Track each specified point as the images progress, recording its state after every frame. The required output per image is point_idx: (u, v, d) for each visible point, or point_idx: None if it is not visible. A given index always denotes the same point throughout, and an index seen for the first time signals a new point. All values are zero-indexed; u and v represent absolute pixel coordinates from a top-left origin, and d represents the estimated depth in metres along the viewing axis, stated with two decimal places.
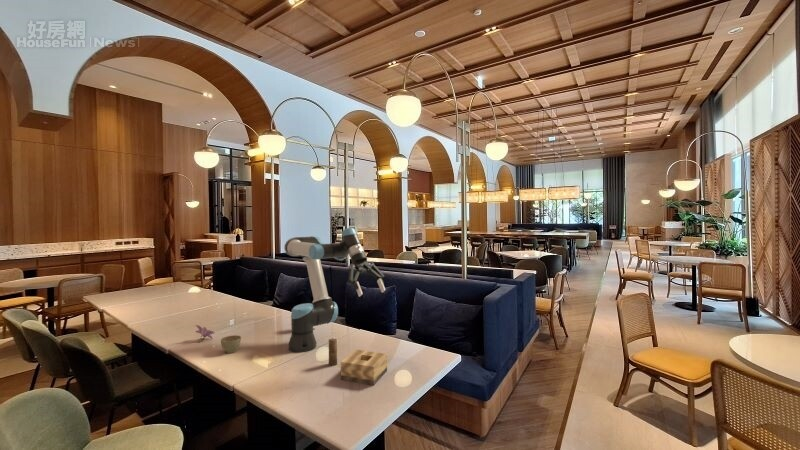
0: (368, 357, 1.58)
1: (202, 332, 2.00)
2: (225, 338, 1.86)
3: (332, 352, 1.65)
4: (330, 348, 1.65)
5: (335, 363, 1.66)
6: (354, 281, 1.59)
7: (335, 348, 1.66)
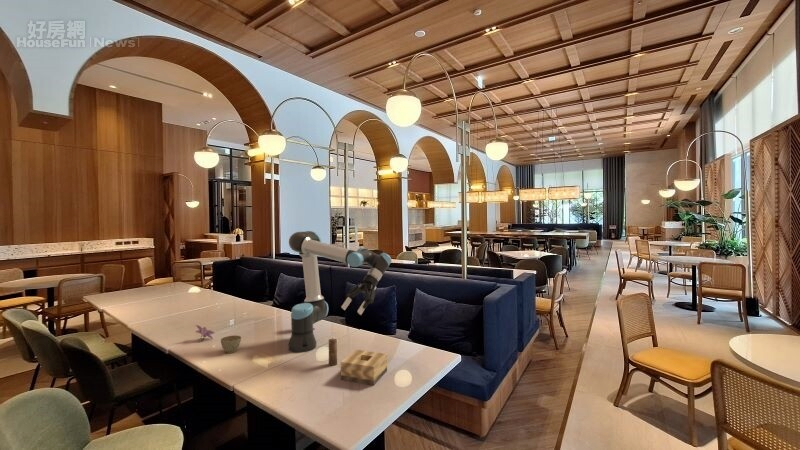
0: (368, 357, 1.58)
1: (202, 332, 2.00)
2: (225, 338, 1.86)
3: (332, 352, 1.65)
4: (330, 348, 1.65)
5: (335, 363, 1.66)
6: (369, 303, 1.73)
7: (335, 348, 1.66)
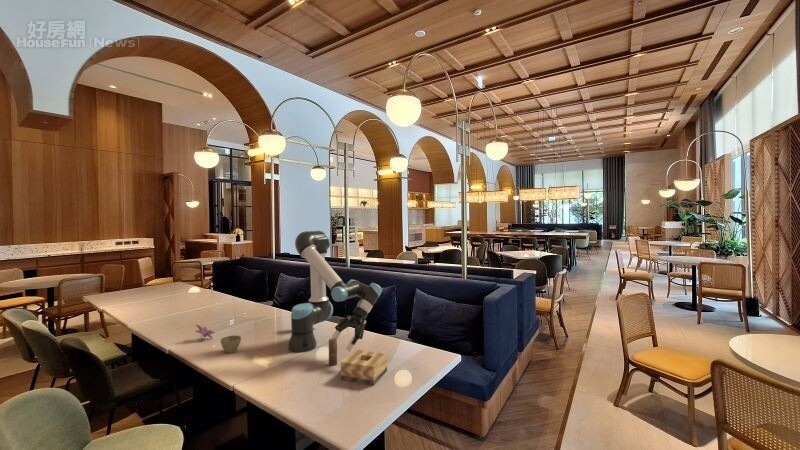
0: (368, 357, 1.58)
1: (202, 332, 2.01)
2: (225, 338, 1.86)
3: (332, 352, 1.65)
4: (330, 348, 1.65)
5: (335, 363, 1.66)
6: None
7: (335, 348, 1.66)
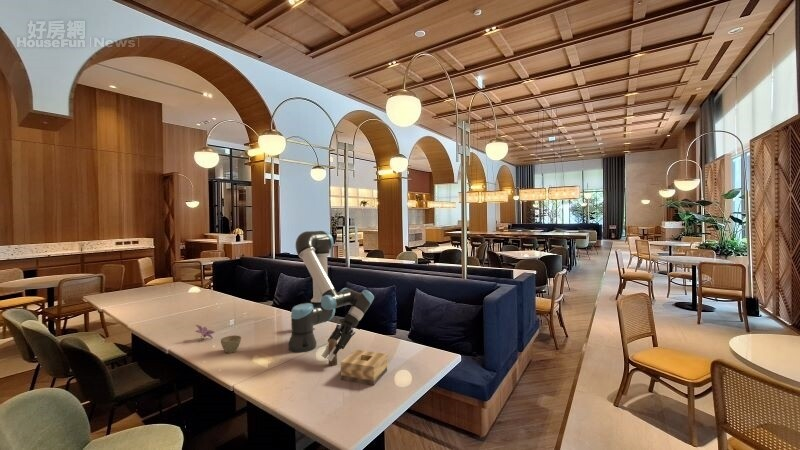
0: (368, 357, 1.58)
1: (202, 332, 2.01)
2: (225, 338, 1.86)
3: None
4: (330, 348, 1.65)
5: (335, 363, 1.66)
6: None
7: None
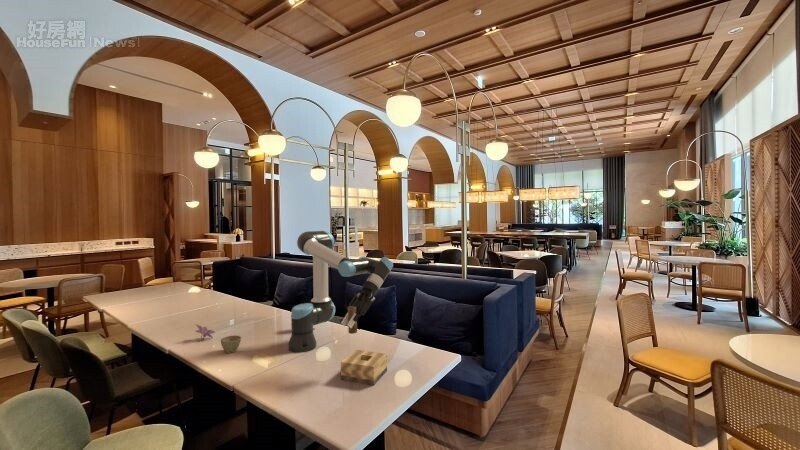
0: (368, 357, 1.58)
1: (202, 331, 2.01)
2: (225, 338, 1.86)
3: None
4: (350, 315, 1.58)
5: (355, 331, 1.58)
6: None
7: None
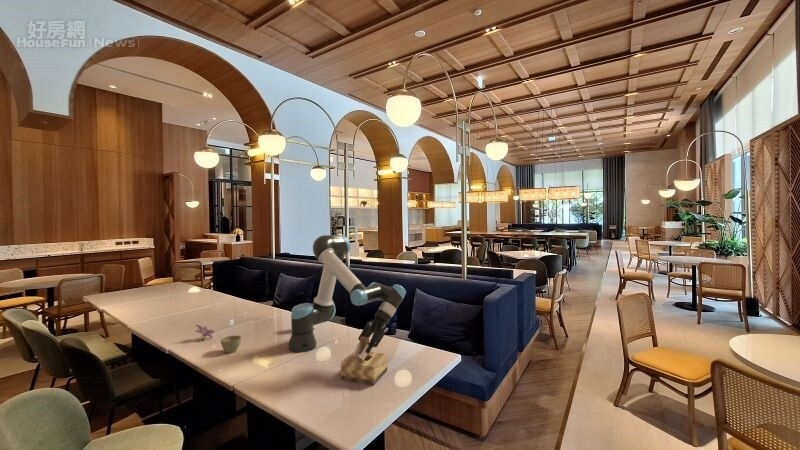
0: None
1: (202, 331, 2.01)
2: (225, 338, 1.86)
3: None
4: (362, 346, 1.53)
5: None
6: (372, 347, 1.54)
7: None
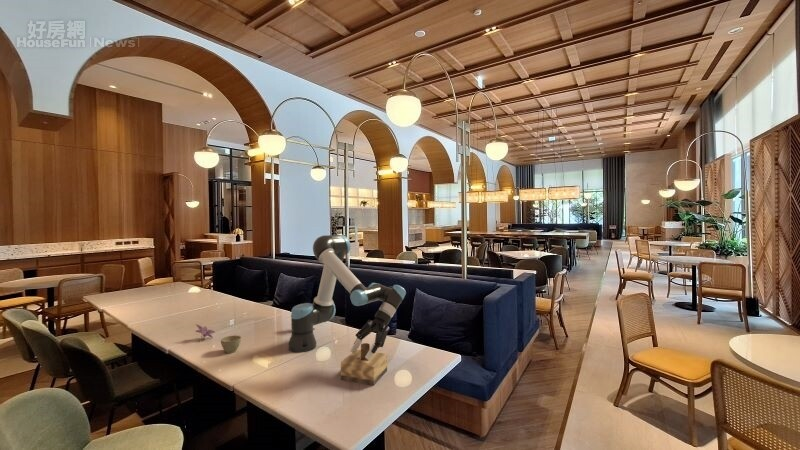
0: None
1: (202, 331, 2.01)
2: (225, 338, 1.86)
3: (365, 358, 1.53)
4: (363, 354, 1.53)
5: None
6: (378, 347, 1.52)
7: None
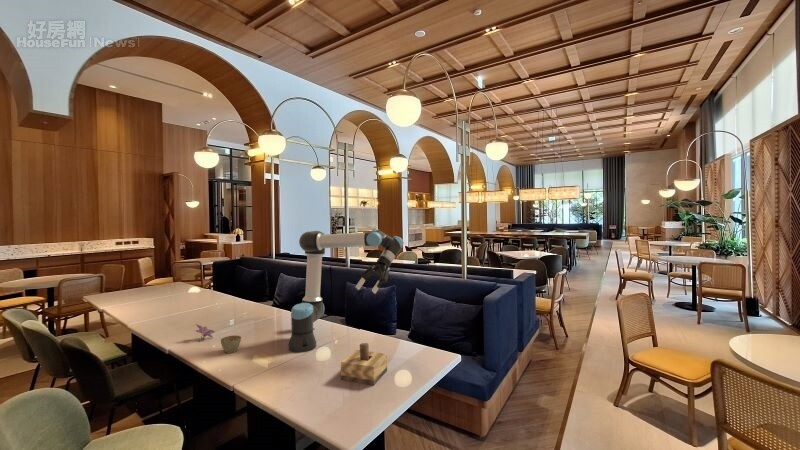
0: None
1: (202, 331, 2.02)
2: (225, 338, 1.86)
3: (365, 358, 1.53)
4: (362, 353, 1.53)
5: None
6: None
7: (367, 353, 1.54)
